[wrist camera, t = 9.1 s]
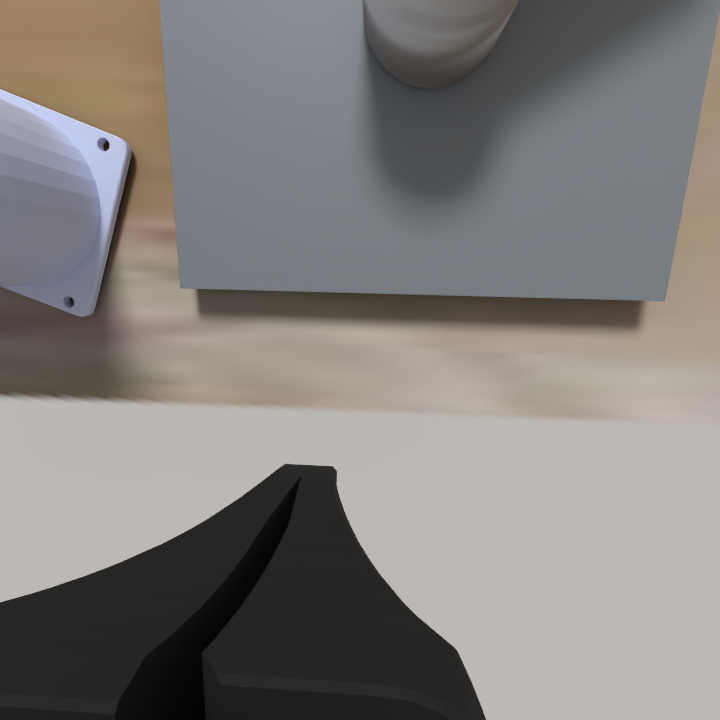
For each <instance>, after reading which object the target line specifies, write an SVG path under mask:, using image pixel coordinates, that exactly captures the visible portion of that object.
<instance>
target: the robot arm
mask: <svg viewBox="0 0 720 720" xmlns="http://www.w3.org/2000/svg"><path fill="white" fill-rule="evenodd" d="M106 141H109V143H110V147H109V149H108V150H107V151H105V150H104V146H103V145H104V143H105V142H106ZM130 159H131V148H130V146H129V144H128V143H127V142H126V141H125V140H123V139H121V138H119V137H117V136H114V135H112V134H109V133H107V132H104V131H102V130H99V129H97V128H95V127H92V126H90V125H87V124H85V123H82V122H80V121H77V120H75V119H72V118H70V117H67V116H65V115H62V114H60V113H57V112H55V111H53V110H50V109H48V108H45V107H43V106H40V105H38V104H35V103H33V102H30V101H28V100H25V99H23V98H20V97H18V96H16V95H13V94H11V93H8V92H6V91H3V90H1V89H0V287H3V288H5V289H8V290H11V291H13V292H16V293H18V294H21V295H24V296H26V297H29V298H31V299H34V300H37V301H39V302H42V303H44V304H47V305H50V306H52V307H55V308H58V309H60V310H63V311H65V312H68V313H71V314H73V315H76V316H79V317H85V316H90V315H91V314H93V312H94V310H95V307H96V303H97V299H98V294H99V290H100V286H101V282H102V277H103V273H104V269H105V265H106V261H107V256H108V252H109V248H110V244H111V239H112V235H113V231H114V227H115V223H116V218H117V214H118V210H119V206H120V201H121V197H122V193H123V189H124V185H125V180H126V176H127V172H128V168H129V164H130ZM70 297H71V298H73V300H74V306H72V305H71V304H70V302H69V299H70ZM336 479H337V471H336V470H335V469H334V467H332V466H313V465H294V464H293V465H292V464H285V465H283V466H282V467H280V468H279V469H277V470H276V471H275V472H274V473H272V474H271V475H270V476H268V477H267V478H266V479H265V480H264V481H262V482H261V483H259V484H258V485H257V486H255V487H254V488H253V489H251V490H250V491H249V492H247V493H246V494H245V495H243V496H242V497H241V498H239V499H238V500H236V501H234V502H233V503H232V504H230V505H228V506H227V507H225V508H224V509H222V510H221V511H220V512H218V513H216V514H215V515H213V516H212V517H210V518H209V519H207V520H206V521H204V522H202V523H200V524H199V525H197V526H195V527H193V528H192V529H190V530H188V531H186V532H184V533H182V534H180V535H179V536H177V537H175V538H173V539H171V540H169V541H167V542H165V543H163V544H161V545H159V546H156V547H154V548H152V549H150V550H147V551H145V552H143V553H141V554H138V555H136V556H134V557H132V558H130V559H127V560H125V561H123V562H121V563H118V564H116V565H113V566H110V567H108V568H105V569H103V570H100V571H97V572H95V573H92V574H89V575H87V576H84V577H81V578H78V579H75V580H72V581H69V582H66V583H64V584H61V585H58V586H55V587H52V588H49V589H45V590H42V591H39V592H36V593H32V594H29V595H25V596H22V597H18V598H15V599H11V600H8V601H4V602H1V603H0V720H486V719H485V716H484V713H483V710H482V708H481V705H480V702H479V700H478V697H477V695H476V693H475V690H474V687H473V685H472V682H471V680H470V678H469V676H468V674H467V671H466V669H465V667H464V664H463V662H462V660H461V658H460V656H459V654H458V652H457V650H456V649H455V648H454V647H453V646H452V645H451V644H449V643H448V642H447V641H446V640H445V639H443V638H442V637H441V636H440V635H439V634H437V633H436V632H435V631H434V630H432V629H431V628H430V627H429V626H428V625H427V624H425V623H424V622H423V621H422V620H421V619H419V618H418V617H417V616H416V615H415V614H414V613H413V612H412V611H411V610H410V609H409V608H408V607H407V606H406V605H405V604H404V603H403V602H402V601H401V599H400V598H399V597H398V596H397V595H396V593H395V592H394V591H393V590H392V589H391V587H390V586H389V585H388V584H387V583H386V581H385V580H384V579H383V578H382V577H381V575H380V574H379V573H378V571H377V570H376V568H375V567H374V565H373V564H372V563H371V561H370V560H369V558H368V557H367V555H366V553H365V552H364V550H363V548H362V547H361V545H360V543H359V542H358V540H357V538H356V536H355V534H354V532H353V530H352V528H351V526H350V524H349V521H348V519H347V517H346V515H345V512H344V509H343V506H342V503H341V501H340V497H339V494H338V490H337V485H336V481H337V480H336Z"/></svg>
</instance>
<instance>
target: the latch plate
mask: <svg viewBox="0 0 720 720" xmlns="http://www.w3.org/2000/svg"><path fill="white" fill-rule="evenodd" d="M159 5H160V19H161V32H162V46H163V60H164V74H165V87H166V101H167V115H168V128H169V142H170V156H171V170H172V183H173V197H174V211H175V225H176V238H177V252H178V266H179V279H180V288H187V289H224V290H262V291H300V292H337V293H375V294H413V295H450V296H488V297H526V298H563V299H601V300H639V301H665V297H666V292H667V287H668V281H669V276H670V271H671V265H672V260H673V255H674V249H675V244H676V239H677V233H678V228H679V223H680V218H681V212H682V207H683V202H684V196H685V191H686V186H687V180H688V175H689V170H690V164H691V159H692V154H693V148H694V143H695V138H696V132H697V127H698V122H699V116H700V111H701V106H702V100H703V95H704V90H705V84H706V79H707V74H708V68H709V63H710V58H711V52H712V47H713V42H714V37H715V31H716V26H717V21H718V15H719V10H720V0H519V1H518V2H517V4H516V6H515V8H514V10H513V12H512V14H511V16H510V18H509V19H508V21H507V23H506V25H505V27H504V29H503V31H502V33H501V35H500V37H499V38H498V40H497V42H496V44H495V46H494V48H493V49H492V51H491V53H490V54H489V56H488V57H487V58H486V60H485V61H484V62H483V63H482V64H481V65H480V66H479V67H478V68H477V69H476V70H475V71H474V72H473V73H471V74H470V75H469V76H467V77H466V78H464V79H462V80H461V81H459V82H457V83H454V84H452V85H449V86H445V87H441V88H420V87H415V86H412V85H409V84H406V83H404V82H402V81H400V80H398V79H397V78H395V77H394V76H393V75H391V74H390V73H389V72H388V71H387V70H386V69H385V68H384V67H383V66H382V65H381V63H380V62H379V61H378V60H377V58H376V56H375V55H374V53H373V51H372V49H371V47H370V44H369V42H368V39H367V36H366V32H365V27H364V19H363V2H362V0H159Z"/></svg>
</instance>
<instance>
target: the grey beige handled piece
mask: <svg viewBox="0 0 720 720" xmlns="http://www.w3.org/2000/svg"><path fill="white" fill-rule="evenodd" d="M518 1H519V0H362V2H363V19H364V27H365V32H366V36H367V39H368V42H369V44H370V47H371V49H372V51H373V53H374V55H375V56H376V58H377V60H378V61H379V62H380V63H381V65H382V66H383V67H384V68H385V69H386V70H387V71H388V72H389V73H390V74H391V75H393V76H394V77H395V78H397V79H398V80H400V81H402V82H404V83H406V84H409V85H412V86H415V87H420V88H441V87H445V86H449V85H452V84H454V83H457V82H459V81H461V80H462V79H464V78H466V77H467V76H469V75H470V74H471V73H473V72H474V71H475V70H476V69H477V68H478V67H479V66H480V65H481V64H482V63H483V62H484V61H485V60H486V58H487V57H488V56H489V54H490V53H491V51H492V49H493V48H494V46H495V44H496V42H497V40H498V38H499V37H500V35H501V33H502V31H503V29H504V27H505V25H506V23H507V21H508V19H509V18H510V16H511V14H512V12H513V10H514V8H515V6H516V4H517V2H518Z"/></svg>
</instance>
